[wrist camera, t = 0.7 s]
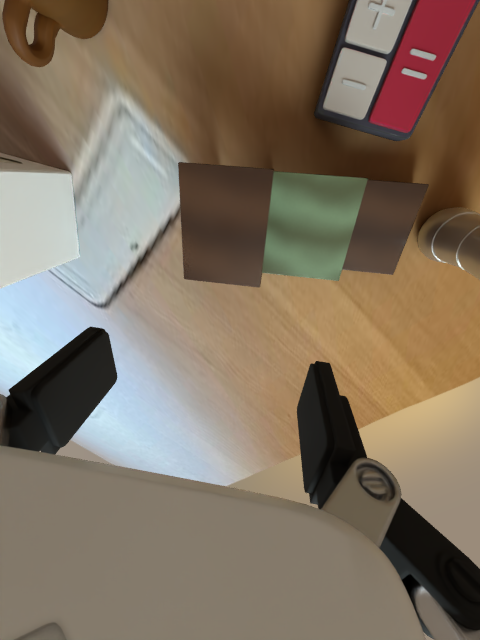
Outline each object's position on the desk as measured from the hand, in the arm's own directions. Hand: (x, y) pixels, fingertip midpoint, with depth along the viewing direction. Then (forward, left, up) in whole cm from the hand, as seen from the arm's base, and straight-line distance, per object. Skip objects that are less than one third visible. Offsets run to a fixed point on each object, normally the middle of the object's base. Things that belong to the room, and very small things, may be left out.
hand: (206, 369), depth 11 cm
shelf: (-3, +7, -31) cm, 31 cm away
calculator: (-21, +12, -31) cm, 39 cm away
